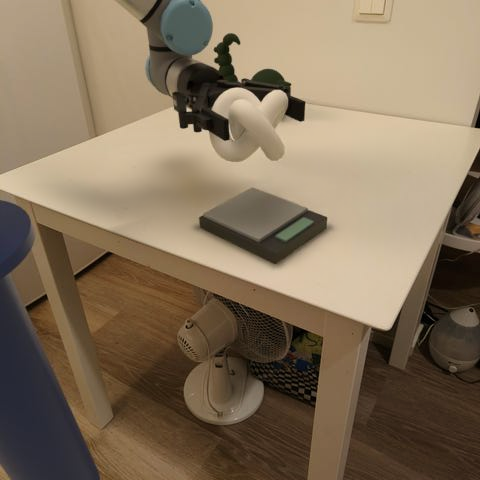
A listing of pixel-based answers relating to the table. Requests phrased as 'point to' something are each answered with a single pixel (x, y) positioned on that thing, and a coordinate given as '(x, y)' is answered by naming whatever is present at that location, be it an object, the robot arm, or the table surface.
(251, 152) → the white knot sculpture
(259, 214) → the scale
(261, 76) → the toy figurine
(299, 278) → the table surface
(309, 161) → the table surface
